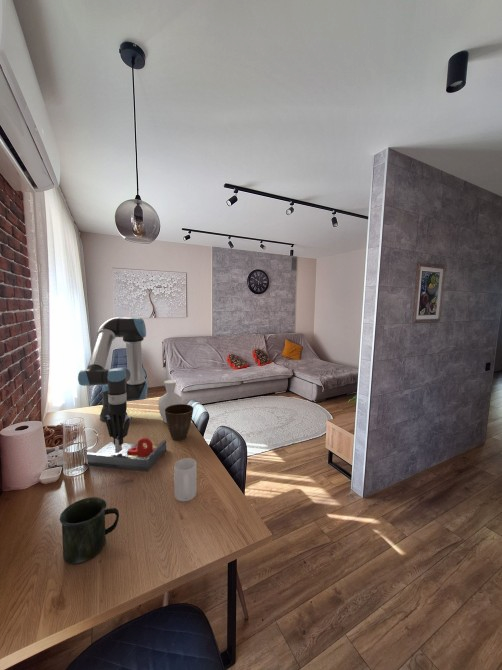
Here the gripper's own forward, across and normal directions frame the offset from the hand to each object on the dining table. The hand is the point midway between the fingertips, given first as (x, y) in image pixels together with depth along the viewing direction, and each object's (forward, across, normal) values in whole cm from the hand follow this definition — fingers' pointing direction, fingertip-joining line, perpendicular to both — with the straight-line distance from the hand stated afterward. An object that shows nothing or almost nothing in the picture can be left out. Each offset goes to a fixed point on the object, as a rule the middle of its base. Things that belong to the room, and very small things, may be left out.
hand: (118, 451), depth 126 cm
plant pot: (+3, +20, +23) cm, 31 cm away
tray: (+3, +4, 0) cm, 5 cm away
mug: (+3, +22, -46) cm, 51 cm away
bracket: (+1, +10, +3) cm, 10 cm away
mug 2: (+3, +41, -22) cm, 47 cm away
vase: (+3, +6, +43) cm, 44 cm away
